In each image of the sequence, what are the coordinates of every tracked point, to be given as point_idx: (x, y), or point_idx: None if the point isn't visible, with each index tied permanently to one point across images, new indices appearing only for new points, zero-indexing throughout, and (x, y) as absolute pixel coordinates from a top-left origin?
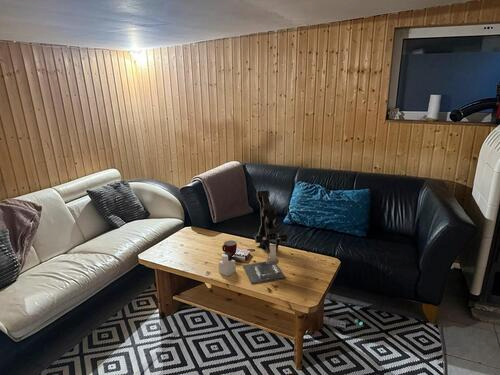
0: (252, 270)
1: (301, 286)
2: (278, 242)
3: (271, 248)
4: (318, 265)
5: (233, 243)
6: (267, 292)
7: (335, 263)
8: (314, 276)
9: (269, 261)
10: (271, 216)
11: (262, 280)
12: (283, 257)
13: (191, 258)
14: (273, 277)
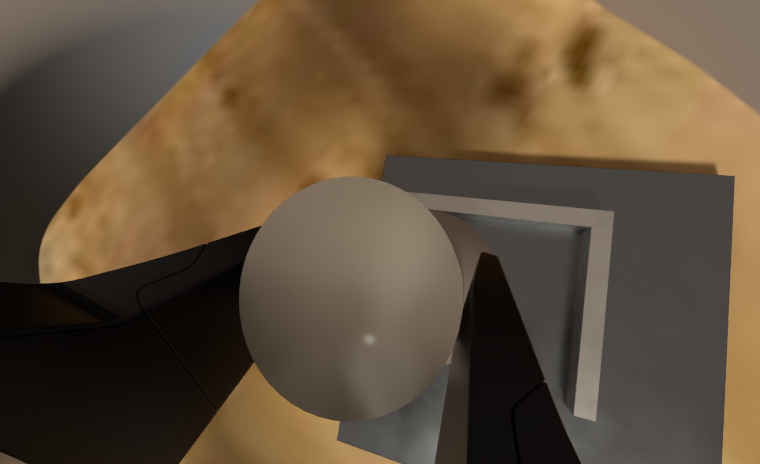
0: (631, 385)
1: (347, 46)
2: (73, 294)
3: (431, 215)
4: (135, 224)
5: None
6: (613, 31)
7: (64, 205)
8: (224, 123)
9: (472, 272)
10: None
11: (599, 170)
12: (240, 451)
13: None
14: (478, 181)
